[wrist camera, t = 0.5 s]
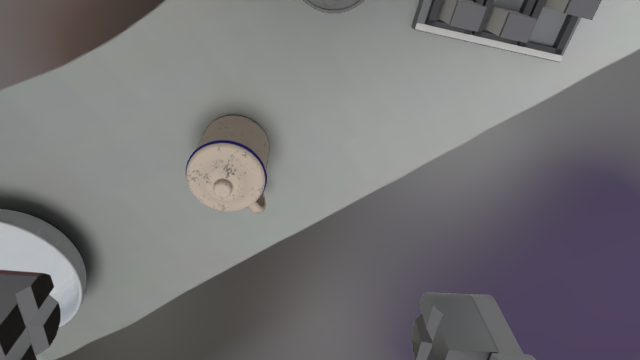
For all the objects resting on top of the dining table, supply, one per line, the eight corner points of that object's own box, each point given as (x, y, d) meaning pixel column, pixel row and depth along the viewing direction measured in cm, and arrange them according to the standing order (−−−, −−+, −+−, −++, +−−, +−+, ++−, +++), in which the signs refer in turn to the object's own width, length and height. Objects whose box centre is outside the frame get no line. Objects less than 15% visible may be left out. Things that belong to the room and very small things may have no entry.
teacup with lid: (187, 131, 55) (160, 176, 45) (247, 100, 54) (234, 139, 44) (237, 201, 61) (224, 255, 51) (294, 174, 59) (292, 225, 49)
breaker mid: (491, 5, 47) (510, 12, 43) (517, 11, 48) (537, 19, 44) (483, 28, 49) (500, 37, 44) (507, 33, 49) (526, 43, 45)
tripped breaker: (552, -17, 46) (576, -12, 42) (577, -11, 47) (604, -6, 43) (542, 6, 48) (565, 13, 43) (566, 12, 48) (591, 19, 44)
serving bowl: (45, 320, 71) (21, 356, 65) (-80, 241, 63) (-121, 273, 57) (130, 258, 65) (113, 291, 60) (5, 162, 57) (-30, 189, 51)
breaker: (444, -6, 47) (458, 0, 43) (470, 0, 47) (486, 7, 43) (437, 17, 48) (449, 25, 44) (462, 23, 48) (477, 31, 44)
